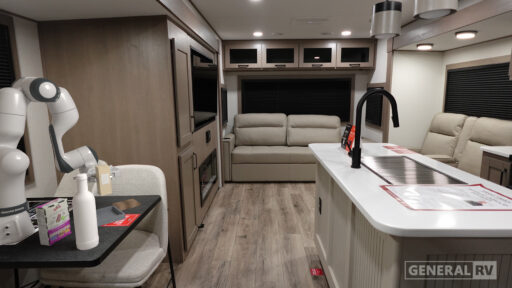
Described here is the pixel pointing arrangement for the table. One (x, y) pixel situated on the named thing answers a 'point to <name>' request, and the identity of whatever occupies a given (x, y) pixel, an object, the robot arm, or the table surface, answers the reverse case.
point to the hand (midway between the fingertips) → (104, 179)
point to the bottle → (84, 215)
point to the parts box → (103, 179)
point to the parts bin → (109, 215)
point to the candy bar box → (53, 221)
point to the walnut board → (126, 204)
